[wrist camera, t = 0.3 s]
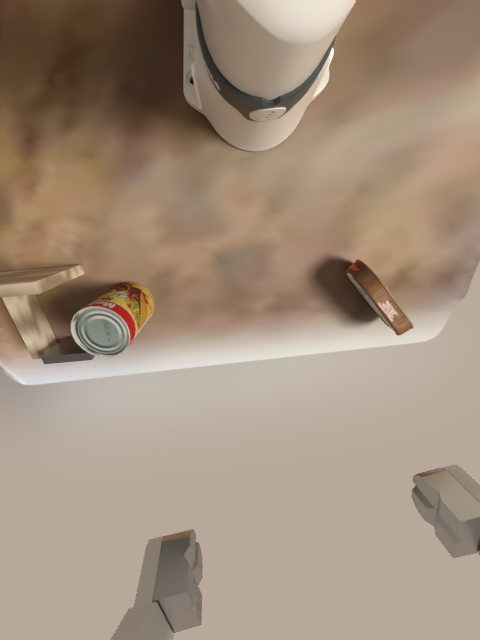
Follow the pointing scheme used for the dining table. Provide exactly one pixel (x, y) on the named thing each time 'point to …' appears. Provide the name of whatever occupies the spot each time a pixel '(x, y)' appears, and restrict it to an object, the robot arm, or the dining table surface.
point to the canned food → (113, 320)
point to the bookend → (66, 352)
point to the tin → (378, 297)
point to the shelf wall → (34, 302)
